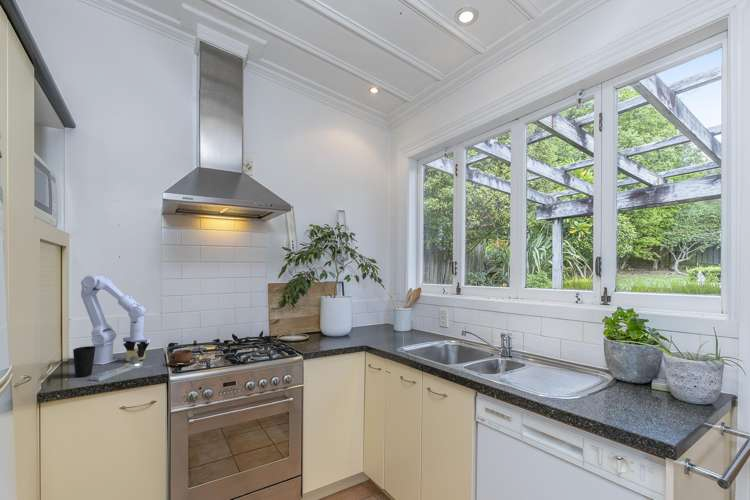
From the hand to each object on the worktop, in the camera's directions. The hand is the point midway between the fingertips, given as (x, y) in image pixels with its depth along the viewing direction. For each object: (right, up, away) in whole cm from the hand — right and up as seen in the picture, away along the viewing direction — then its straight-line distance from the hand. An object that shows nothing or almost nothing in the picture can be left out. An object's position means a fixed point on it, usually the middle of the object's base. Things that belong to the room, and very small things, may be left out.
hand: (136, 356), depth 174 cm
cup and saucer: (+26, -3, -3) cm, 26 cm away
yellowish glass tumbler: (0, -1, 0) cm, 1 cm away
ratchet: (+4, -2, -17) cm, 17 cm away
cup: (-8, -2, -22) cm, 23 cm away
